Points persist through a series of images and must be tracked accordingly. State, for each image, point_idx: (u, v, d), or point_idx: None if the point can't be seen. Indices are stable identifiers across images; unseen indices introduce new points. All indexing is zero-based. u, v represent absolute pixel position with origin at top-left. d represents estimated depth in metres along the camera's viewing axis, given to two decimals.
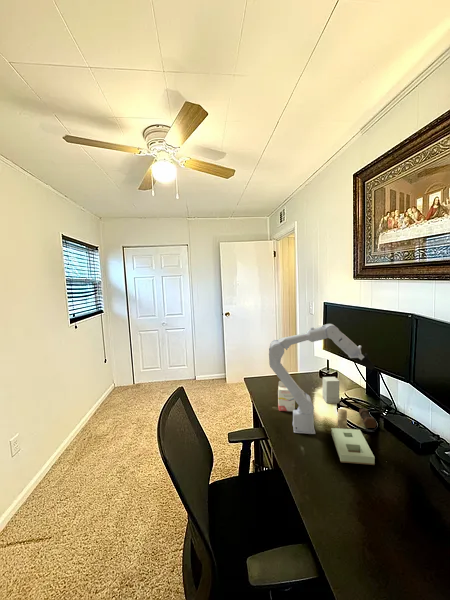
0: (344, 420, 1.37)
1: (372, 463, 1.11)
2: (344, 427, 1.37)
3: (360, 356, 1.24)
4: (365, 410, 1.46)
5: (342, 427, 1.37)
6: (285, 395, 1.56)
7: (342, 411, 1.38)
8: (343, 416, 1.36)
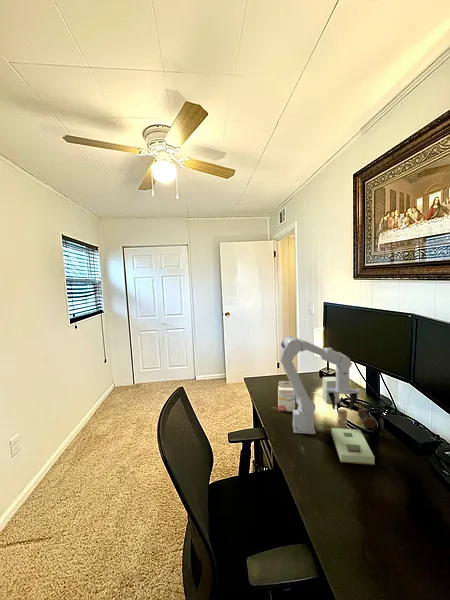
0: (344, 420, 1.37)
1: (372, 463, 1.11)
2: (344, 427, 1.37)
3: None
4: (364, 410, 1.46)
5: (342, 427, 1.37)
6: (285, 395, 1.56)
7: (342, 411, 1.38)
8: (343, 416, 1.36)
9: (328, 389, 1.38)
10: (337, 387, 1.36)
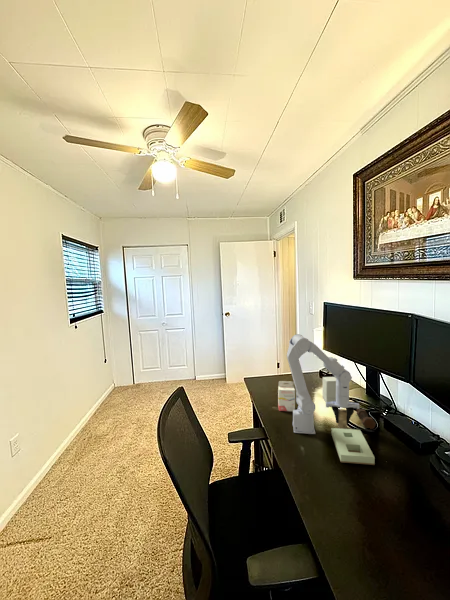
0: (344, 420, 1.37)
1: (372, 463, 1.11)
2: (344, 427, 1.37)
3: None
4: (363, 410, 1.46)
5: (342, 427, 1.37)
6: (285, 395, 1.56)
7: (342, 411, 1.38)
8: (343, 416, 1.36)
9: (328, 403, 1.39)
10: (337, 401, 1.37)
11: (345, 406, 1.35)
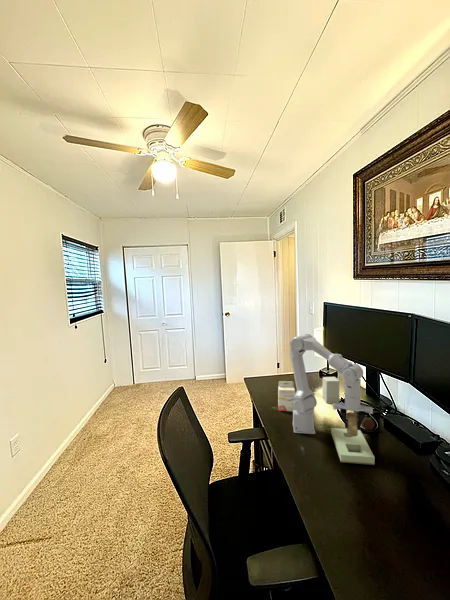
0: (354, 425, 1.18)
1: (372, 463, 1.11)
2: (354, 433, 1.18)
3: (372, 409, 1.17)
4: None
5: (351, 433, 1.18)
6: (285, 395, 1.56)
7: (351, 415, 1.19)
8: (352, 420, 1.18)
9: (336, 404, 1.21)
10: (346, 403, 1.19)
11: (355, 409, 1.16)
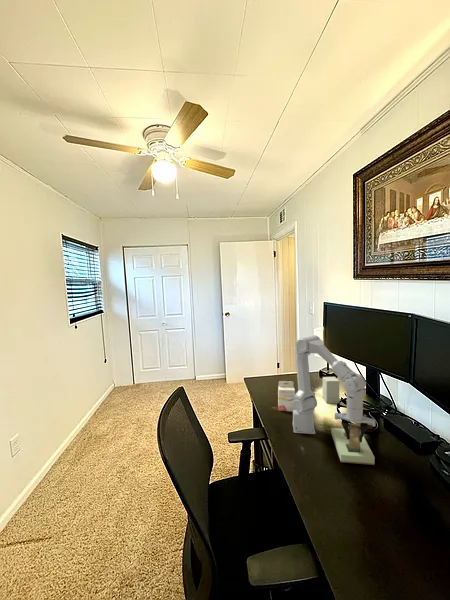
0: (356, 437, 1.15)
1: (372, 463, 1.11)
2: (355, 445, 1.15)
3: None
4: None
5: (353, 445, 1.15)
6: (285, 395, 1.56)
7: (353, 426, 1.16)
8: (354, 432, 1.15)
9: (337, 414, 1.19)
10: (347, 413, 1.16)
11: (356, 421, 1.13)
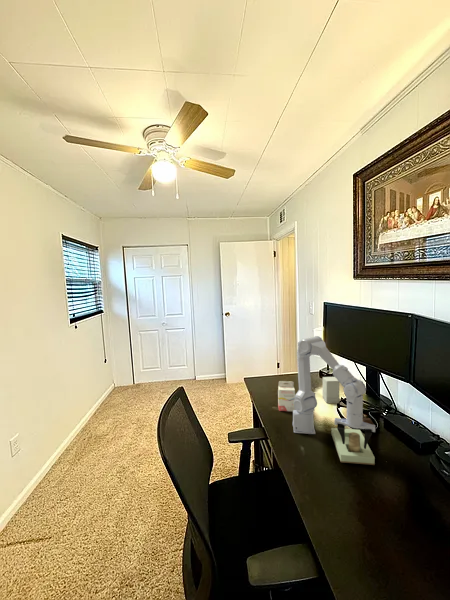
0: (356, 446, 1.15)
1: (372, 463, 1.11)
2: None
3: None
4: None
5: None
6: (285, 395, 1.56)
7: (353, 435, 1.16)
8: (354, 441, 1.15)
9: (337, 419, 1.19)
10: (347, 419, 1.16)
11: (356, 426, 1.13)
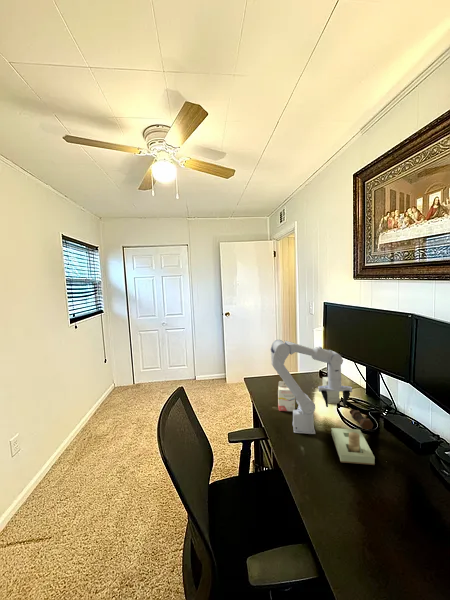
0: (356, 446, 1.15)
1: (372, 463, 1.11)
2: None
3: (351, 388, 1.35)
4: (357, 411, 1.45)
5: None
6: (285, 395, 1.56)
7: (353, 435, 1.16)
8: (353, 441, 1.15)
9: (320, 387, 1.38)
10: (329, 385, 1.36)
11: (337, 389, 1.34)
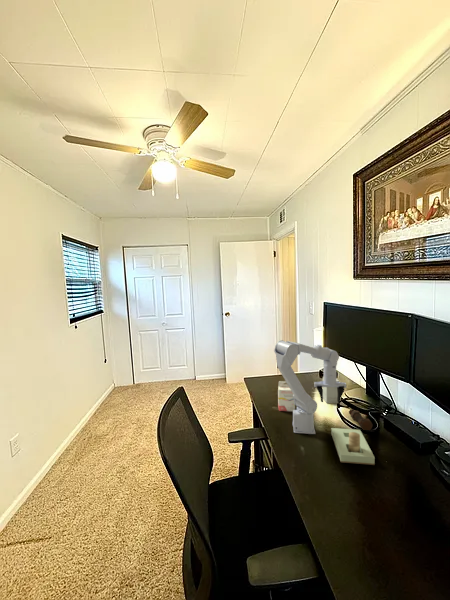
0: (356, 446, 1.15)
1: (372, 463, 1.11)
2: None
3: None
4: (357, 412, 1.45)
5: None
6: (285, 395, 1.56)
7: (353, 435, 1.16)
8: (353, 441, 1.15)
9: (316, 383, 1.43)
10: (325, 380, 1.41)
11: (332, 385, 1.39)
